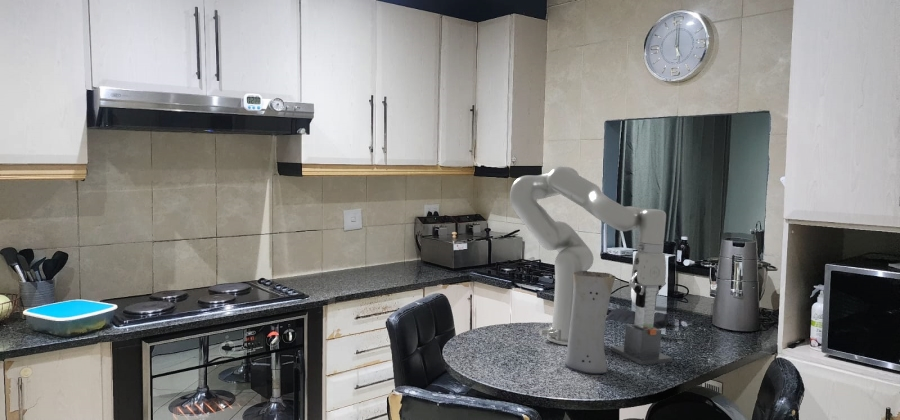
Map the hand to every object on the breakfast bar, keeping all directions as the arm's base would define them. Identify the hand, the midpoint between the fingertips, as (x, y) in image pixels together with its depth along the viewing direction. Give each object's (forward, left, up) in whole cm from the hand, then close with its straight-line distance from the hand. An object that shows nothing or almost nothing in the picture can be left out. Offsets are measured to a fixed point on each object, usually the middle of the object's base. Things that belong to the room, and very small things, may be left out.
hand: (645, 305), depth 191 cm
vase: (-24, -5, -16) cm, 30 cm away
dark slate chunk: (+30, +37, -17) cm, 50 cm away
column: (0, 0, -9) cm, 9 cm away
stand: (0, 0, -16) cm, 16 cm away
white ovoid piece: (+47, +56, -16) cm, 75 cm away
